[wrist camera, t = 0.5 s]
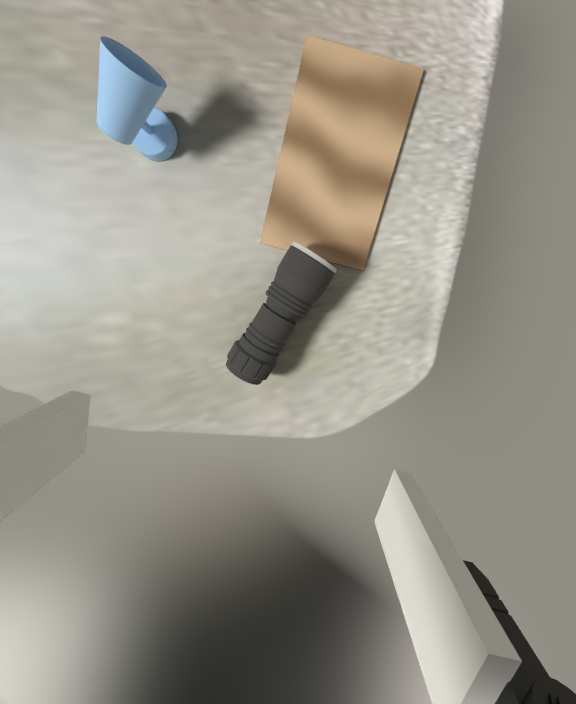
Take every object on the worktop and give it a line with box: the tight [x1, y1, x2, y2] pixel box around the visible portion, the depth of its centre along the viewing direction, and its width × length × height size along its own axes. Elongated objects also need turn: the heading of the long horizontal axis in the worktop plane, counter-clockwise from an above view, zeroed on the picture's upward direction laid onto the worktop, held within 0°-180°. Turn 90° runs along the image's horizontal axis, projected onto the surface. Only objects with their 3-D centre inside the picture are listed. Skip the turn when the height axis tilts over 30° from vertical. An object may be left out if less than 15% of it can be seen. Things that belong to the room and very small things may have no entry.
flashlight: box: [226, 241, 337, 385], centre depth 34 cm, size 15×5×5 cm, turn 148°
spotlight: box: [97, 36, 178, 161], centre depth 28 cm, size 5×10×7 cm
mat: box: [260, 35, 424, 271], centre depth 33 cm, size 20×12×1 cm, turn 166°
